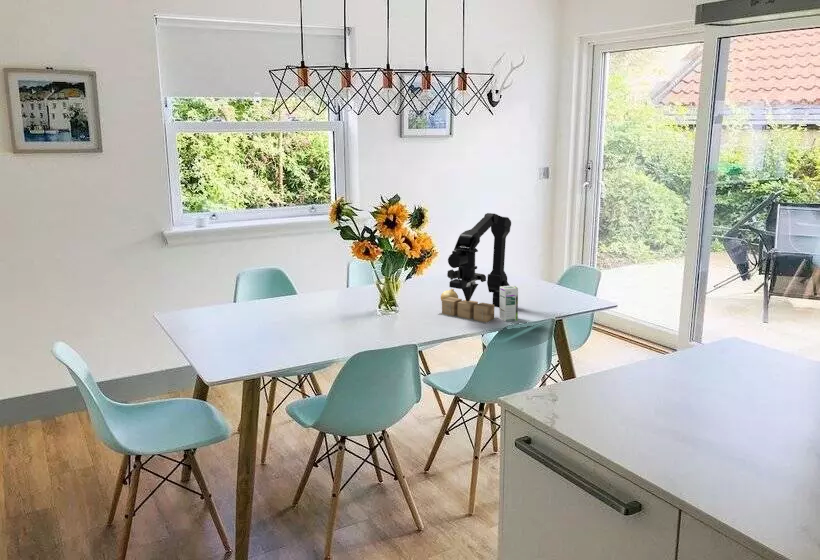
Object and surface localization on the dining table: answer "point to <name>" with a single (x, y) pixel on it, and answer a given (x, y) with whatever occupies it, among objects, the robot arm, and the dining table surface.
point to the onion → (449, 294)
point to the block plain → (466, 309)
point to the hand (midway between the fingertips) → (467, 301)
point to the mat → (466, 318)
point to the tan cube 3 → (450, 306)
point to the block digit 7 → (484, 312)
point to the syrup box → (509, 303)
